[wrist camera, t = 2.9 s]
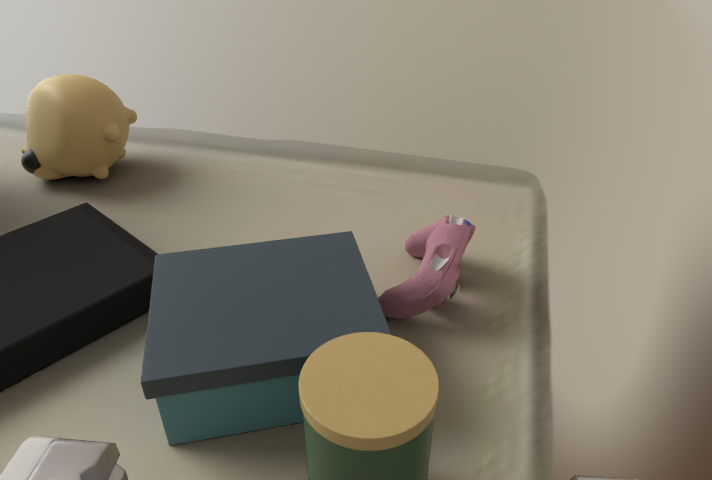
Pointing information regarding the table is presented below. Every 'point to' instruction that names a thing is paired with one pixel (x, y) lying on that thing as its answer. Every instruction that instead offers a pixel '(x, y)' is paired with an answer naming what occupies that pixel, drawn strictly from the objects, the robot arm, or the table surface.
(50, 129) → the toy pig
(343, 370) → the tea tin
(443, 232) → the video game controller
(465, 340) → the table surface
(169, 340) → the storage box
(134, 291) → the external hard drive
